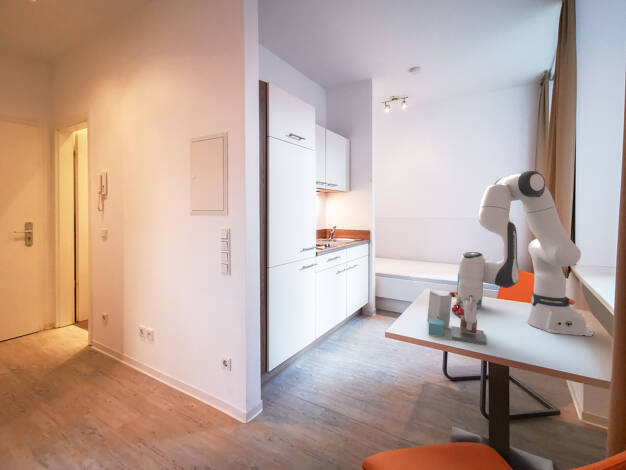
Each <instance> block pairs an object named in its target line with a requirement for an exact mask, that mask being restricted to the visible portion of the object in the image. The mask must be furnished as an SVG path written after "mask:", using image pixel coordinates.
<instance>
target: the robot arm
mask: <svg viewBox="0 0 626 470" xmlns="http://www.w3.org/2000/svg"><path fill="white" fill-rule="evenodd" d="M514 201H515V202H516V201H521V203H522V208H523V211H524V214H525V218H526V219H525V220H526V221H527V225H528V228H529V230H530V232H531V233H532V234H533V235H534V236H535V239H533V240H531V241H530V242H529V244H528V247H527V249H528V254H529V255H530V257H531V260H532V266H533V273H534V283H533V291H532V295H531V302H530V303H531V308H530V309H531V310H530V313H529V316H528V318H527V321H526V322H527V324H528V325H530V326H532V327H533V328H537V329H540V330H544V331H546V332H548V333H551V334H561V335H569V336H570V335H571V336H582V335H585V336H584V337H593V336H594V332H593V330H592V329H591V328H590V327H588V326H587V321H586V319H585V317H584V316H583V315H582V314H581V313H580V312H579V311H577V310H576V309H575V308H574V307H572V306H574V305H575V303H576V302H575V300H573V299H571V298H569V297H567V296H566V291H567V289H566V287H567V278H566V276H565V274H564V272H563V269H562V267H570V266H574V265H576V264H577V263H578V262H579V261H580V260H581V257H582V256H581V255H582V253H581V249H580V248H579V247H578V245H576V244H575V243H574V242H573V241H572V240H571V238H570V236H569V235H568V233H567V231H566V229H565V228H564V226H563V224H562V222H561V220H560V216H559V214H558V210H557V207H556V204H555V201H554V198H553V196H552V194H551V191H549V189H548V187H547V186H546V180H545V178H544V176H543V174H541V173H540V172H539V171H538V170H537V171H536V170H527V171H523V172H519V173H515V174H511V175H509V176H506V177H504V178H499V179H497V180H495V181H494V182H493V183H492V184H491V185H489V186H488V187H486V189H485V191H484V194H483V196H482V199H481V202H480V205H479V210H478V214H477V215H478V216H477V217H478V218H477V219H478V223H479V225H480V226H481V227H483V229H484V230H485V229H486V230H487V231H488V232H491V233H493V234H495V235H497V236H499V237H500V238H501V240H502V260H500V261H499V260H492V259H487V258H484V255H483V253H481V252H478V251H467V252H465V253H462V254H461V257H460V260H459V269H458V271H459V276H460V281H459V284H458V283H457V286H458V296H459V297H461V300H462V301H463V307H462V308H463V309H464V315H465V321H466V322H467V326H466V328H467V330H472V324H473V323H476V319H477V311H478V308H477V305H476V303H478V302H479V300H480V299H482V300H483V295H484V284H489V285H494V286H498V287H501V288H504V289H508V288H510V287H513V286H515V285H516V284H517V283H518V281H519V265H518V234H517V227H516V225H515V223H514V222H512V221H511V219H510V212H511V202H514ZM482 282H483V283H482ZM592 335H593V336H592Z"/></svg>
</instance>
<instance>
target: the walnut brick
mask: <svg viewBox="0 0 626 470" xmlns="http://www.w3.org/2000/svg"><path fill="white" fill-rule="evenodd" d="M477 319H478V318H476V323H473V324H472V330H467V328H466V326H467V322H466V321H465V315H461V318H460V322H459V324H460V326H459V327H460V328H461V331H462V332H469V333H475V334H476V330H478V329H477V327H478V320H477Z"/></svg>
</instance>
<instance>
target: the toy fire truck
mask: <svg viewBox="0 0 626 470" xmlns="http://www.w3.org/2000/svg"><path fill="white" fill-rule="evenodd" d="M448 294H450V295H452V298H456V302H455V304H453V306H451V311H452V314H454V315H456V316H457V317H458V318H460V319H461V315H464V309H463V307H462V306H461V305H460V303H461V302H462V301H461V298H459V297H458V293H457V291H456V292H454V291H453V292H450V291H449V293H448Z"/></svg>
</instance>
